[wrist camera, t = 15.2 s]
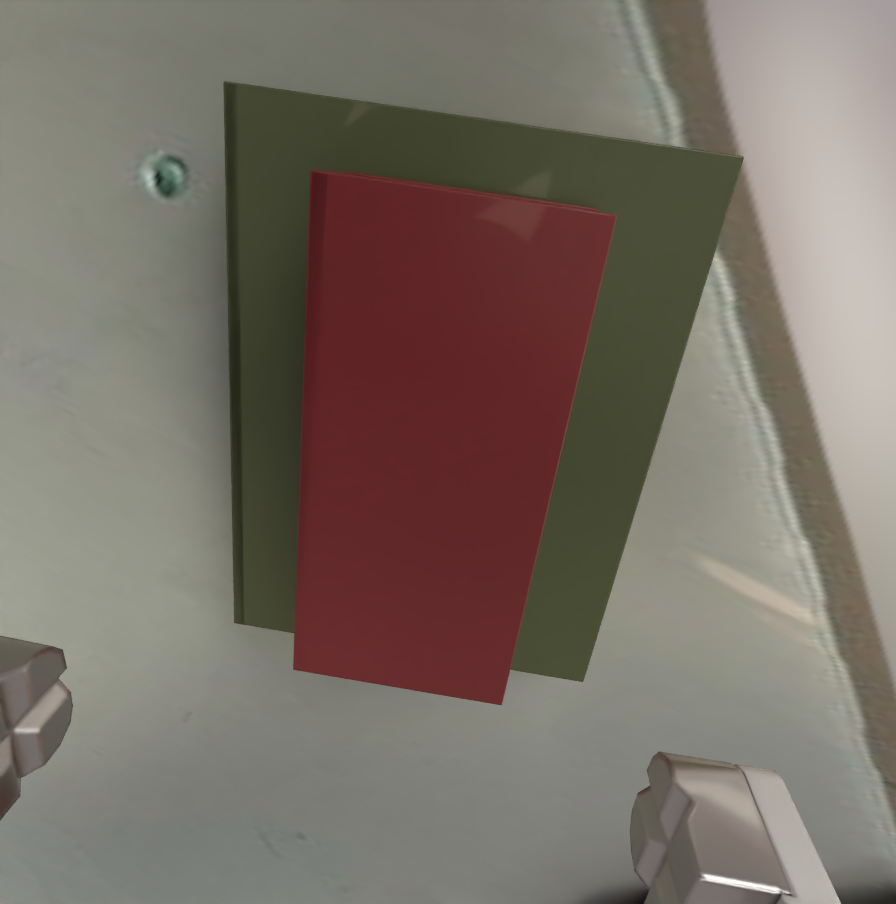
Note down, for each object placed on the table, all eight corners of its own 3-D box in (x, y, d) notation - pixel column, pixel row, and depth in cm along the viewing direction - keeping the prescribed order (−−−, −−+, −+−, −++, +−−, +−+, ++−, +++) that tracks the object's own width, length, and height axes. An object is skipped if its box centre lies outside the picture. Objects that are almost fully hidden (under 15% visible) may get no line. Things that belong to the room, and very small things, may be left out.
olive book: (269, 96, 17) (222, 81, 14) (705, 160, 16) (744, 156, 14) (265, 571, 23) (233, 623, 21) (574, 623, 23) (583, 682, 20)
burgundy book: (347, 171, 14) (309, 169, 12) (596, 208, 14) (617, 215, 12) (322, 602, 20) (292, 670, 17) (502, 633, 20) (502, 706, 17)
